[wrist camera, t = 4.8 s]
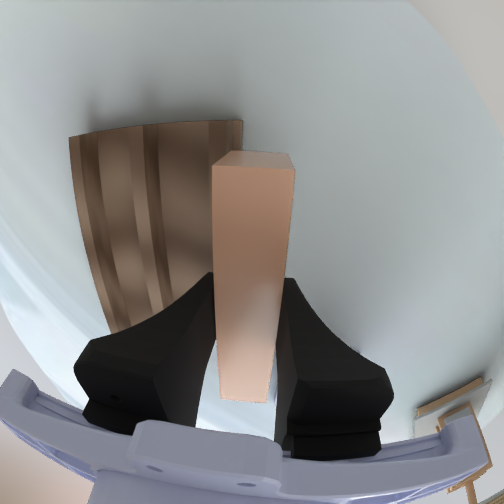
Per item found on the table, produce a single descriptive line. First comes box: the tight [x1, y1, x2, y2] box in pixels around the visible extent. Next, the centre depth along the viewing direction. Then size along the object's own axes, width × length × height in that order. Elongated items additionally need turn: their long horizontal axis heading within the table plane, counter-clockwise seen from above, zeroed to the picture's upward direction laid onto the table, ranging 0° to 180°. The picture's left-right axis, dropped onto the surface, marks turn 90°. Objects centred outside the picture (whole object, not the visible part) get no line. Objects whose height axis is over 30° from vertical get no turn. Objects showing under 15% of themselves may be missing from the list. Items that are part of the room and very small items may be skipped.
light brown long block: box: [212, 151, 295, 403], centre depth 13 cm, size 12×2×4 cm, turn 178°
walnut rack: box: [69, 120, 243, 340], centre depth 20 cm, size 18×12×3 cm, turn 179°
